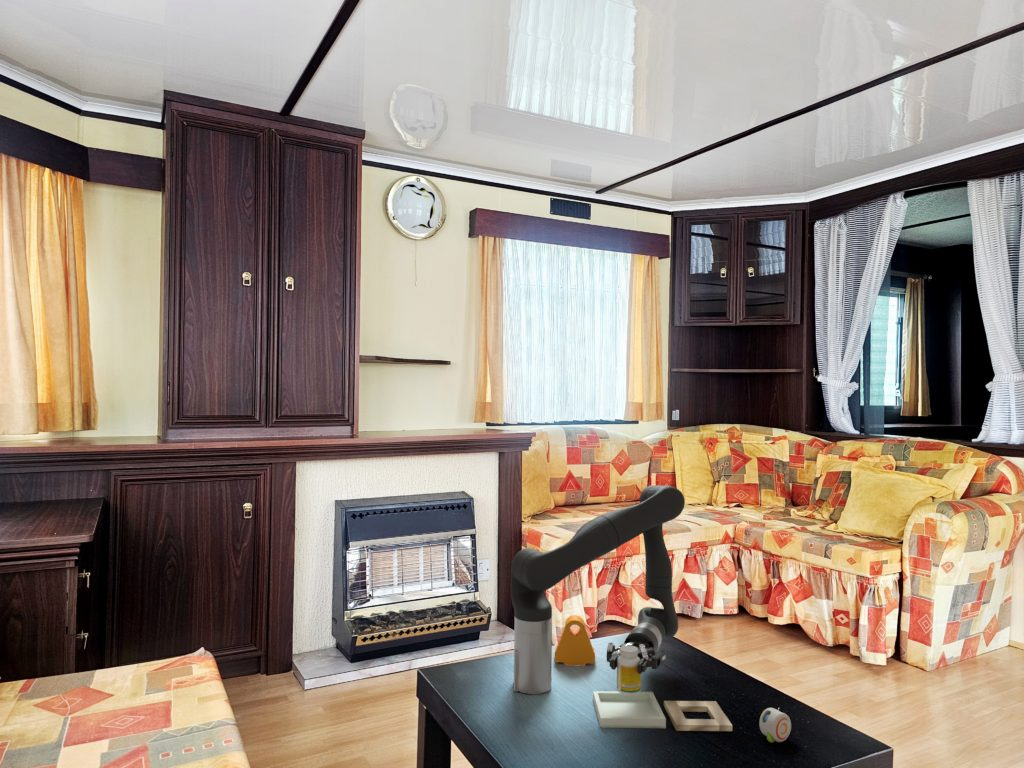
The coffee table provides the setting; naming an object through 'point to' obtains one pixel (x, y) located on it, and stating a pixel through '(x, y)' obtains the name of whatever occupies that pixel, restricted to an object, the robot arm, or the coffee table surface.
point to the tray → (628, 710)
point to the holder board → (682, 724)
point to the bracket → (574, 644)
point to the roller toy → (775, 725)
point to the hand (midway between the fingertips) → (626, 667)
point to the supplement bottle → (628, 671)
